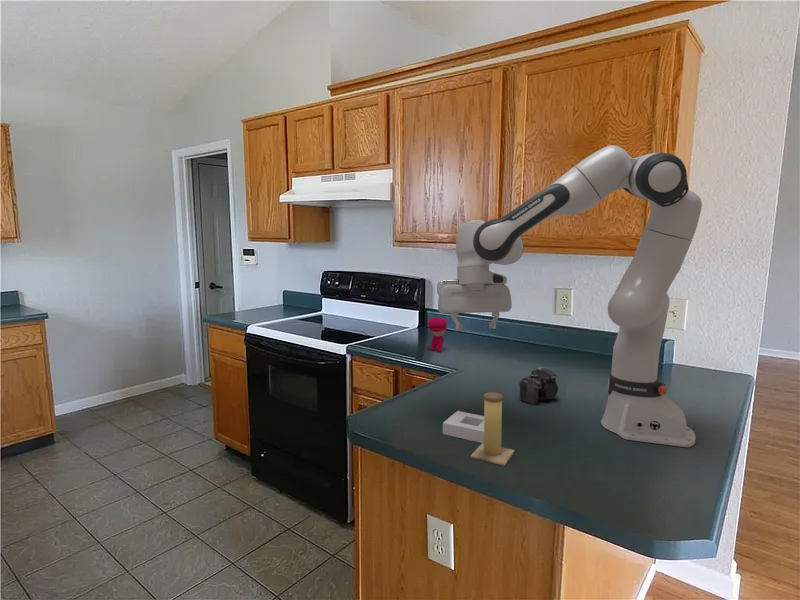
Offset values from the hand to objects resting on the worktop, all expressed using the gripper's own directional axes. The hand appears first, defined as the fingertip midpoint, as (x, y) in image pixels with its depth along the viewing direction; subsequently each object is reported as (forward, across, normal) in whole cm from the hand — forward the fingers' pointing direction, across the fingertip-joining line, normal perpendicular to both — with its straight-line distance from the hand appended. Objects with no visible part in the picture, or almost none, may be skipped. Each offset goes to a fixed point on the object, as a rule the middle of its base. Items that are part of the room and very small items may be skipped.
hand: (475, 329), depth 133 cm
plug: (+29, -2, -16) cm, 33 cm away
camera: (+22, +26, +19) cm, 39 cm away
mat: (+30, -2, -16) cm, 34 cm away
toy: (+7, +8, +82) cm, 82 cm away
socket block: (+27, -4, -3) cm, 27 cm away
